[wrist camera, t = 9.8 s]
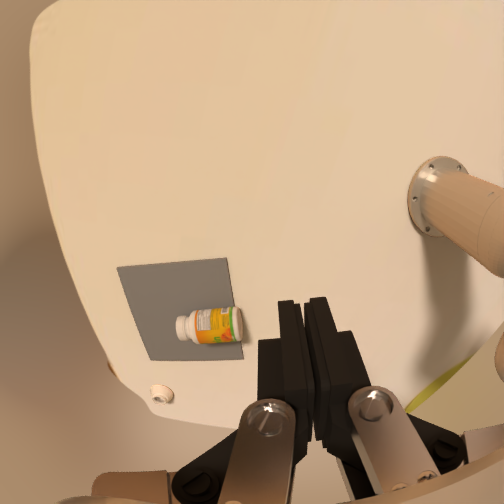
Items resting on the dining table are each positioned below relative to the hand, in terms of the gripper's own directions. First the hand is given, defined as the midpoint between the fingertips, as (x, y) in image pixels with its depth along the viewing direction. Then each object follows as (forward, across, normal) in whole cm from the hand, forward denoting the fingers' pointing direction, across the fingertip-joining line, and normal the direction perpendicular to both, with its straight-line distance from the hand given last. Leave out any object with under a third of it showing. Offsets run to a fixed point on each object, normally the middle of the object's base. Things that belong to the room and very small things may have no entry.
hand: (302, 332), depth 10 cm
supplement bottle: (+28, +6, +21) cm, 35 cm away
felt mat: (+31, +16, +21) cm, 41 cm away
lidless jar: (+32, +26, +41) cm, 58 cm away
